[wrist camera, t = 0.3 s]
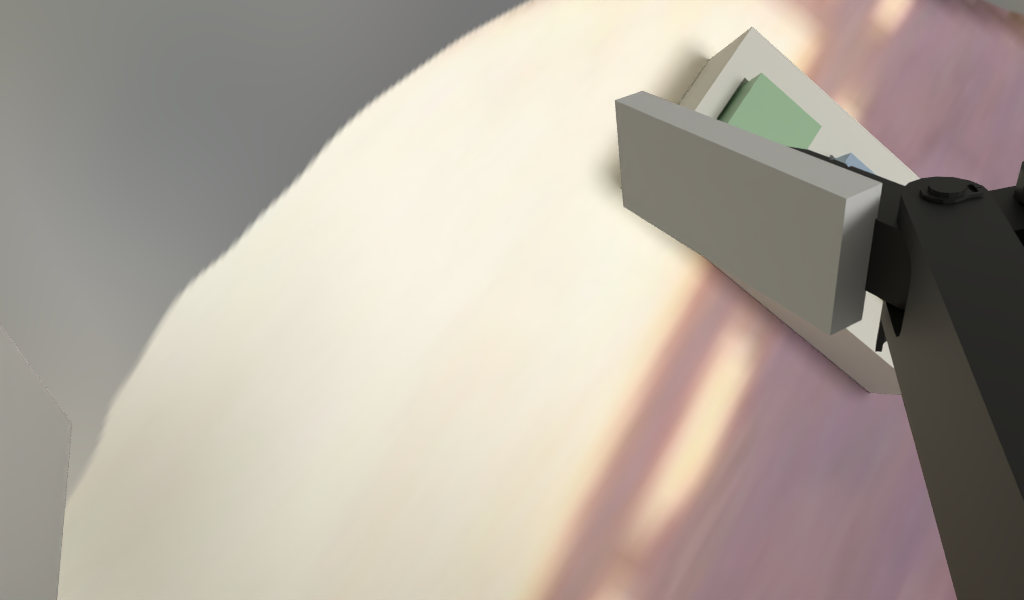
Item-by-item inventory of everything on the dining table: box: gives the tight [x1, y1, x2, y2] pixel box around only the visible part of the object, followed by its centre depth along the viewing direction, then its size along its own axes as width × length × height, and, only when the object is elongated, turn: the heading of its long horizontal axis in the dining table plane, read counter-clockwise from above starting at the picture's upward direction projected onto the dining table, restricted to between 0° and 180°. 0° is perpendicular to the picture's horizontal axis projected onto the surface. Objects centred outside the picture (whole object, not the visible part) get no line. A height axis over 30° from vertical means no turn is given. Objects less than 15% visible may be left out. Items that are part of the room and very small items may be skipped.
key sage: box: [717, 73, 822, 149], centre depth 52 cm, size 6×6×4 cm
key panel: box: [621, 27, 920, 395], centre depth 56 cm, size 28×14×6 cm, turn 54°
